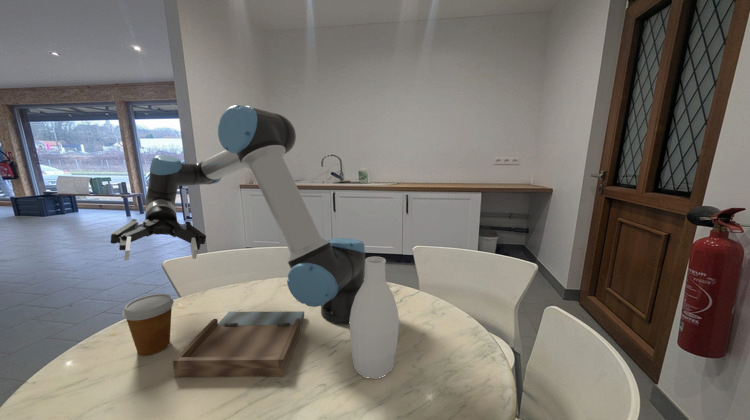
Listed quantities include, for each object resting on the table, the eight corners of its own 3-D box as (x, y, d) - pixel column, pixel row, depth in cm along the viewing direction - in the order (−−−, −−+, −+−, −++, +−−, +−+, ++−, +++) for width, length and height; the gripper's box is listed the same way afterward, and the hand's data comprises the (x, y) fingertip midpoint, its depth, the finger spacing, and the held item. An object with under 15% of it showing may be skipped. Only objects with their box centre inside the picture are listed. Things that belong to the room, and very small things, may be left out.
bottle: (407, 370, 62) (412, 262, 58) (365, 392, 56) (367, 273, 52) (379, 343, 71) (381, 248, 67) (340, 360, 65) (340, 256, 61)
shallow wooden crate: (306, 317, 82) (305, 305, 82) (283, 376, 60) (283, 359, 59) (227, 317, 82) (226, 305, 81) (174, 377, 59) (172, 360, 58)
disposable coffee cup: (151, 363, 63) (144, 314, 61) (117, 357, 65) (110, 309, 63) (187, 338, 72) (182, 295, 70) (156, 333, 74) (151, 291, 72)
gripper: (206, 229, 93) (216, 265, 78) (103, 225, 77) (91, 270, 62) (210, 209, 91) (221, 242, 76) (105, 200, 75) (93, 241, 60)
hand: (163, 255), depth 69 cm, fingers open, 13 cm apart
